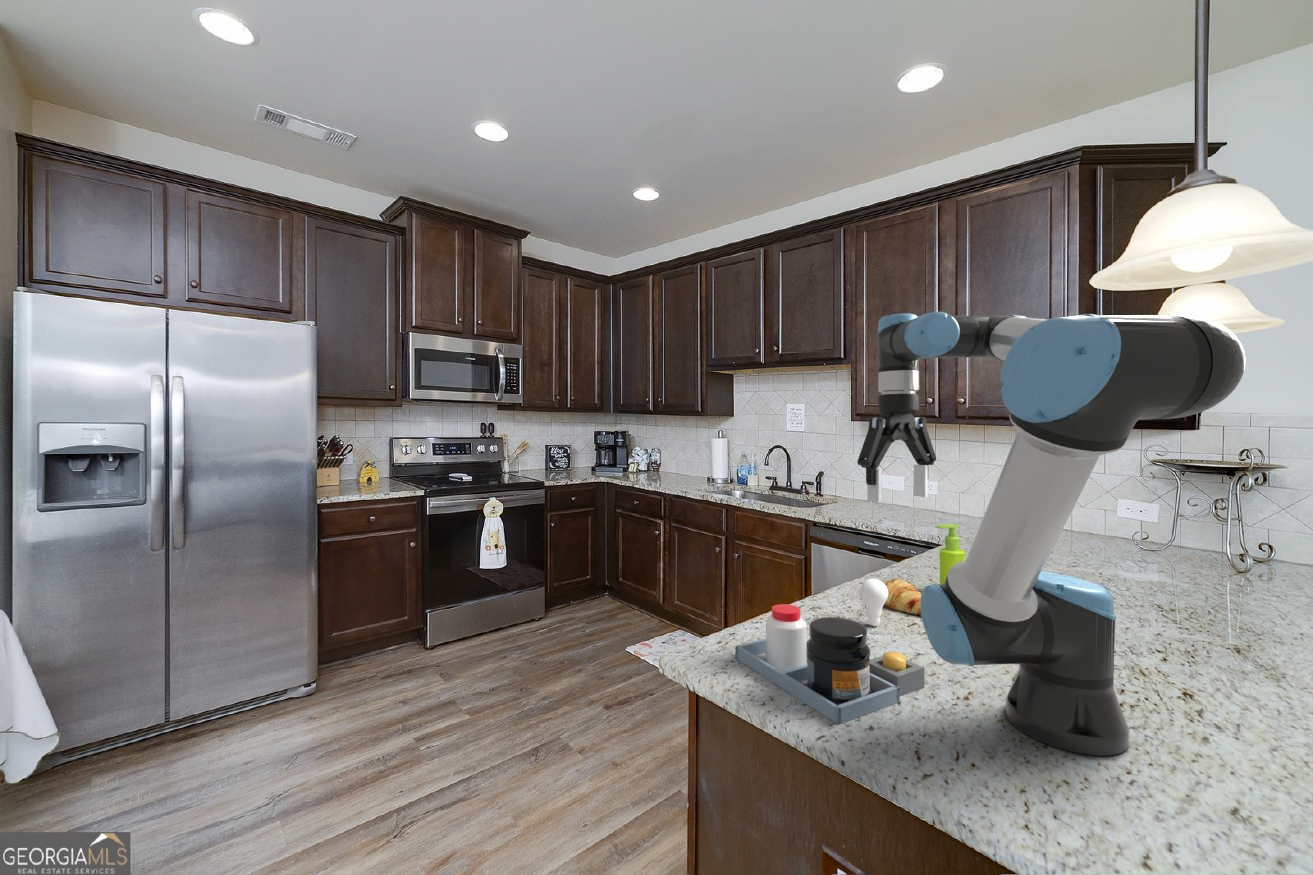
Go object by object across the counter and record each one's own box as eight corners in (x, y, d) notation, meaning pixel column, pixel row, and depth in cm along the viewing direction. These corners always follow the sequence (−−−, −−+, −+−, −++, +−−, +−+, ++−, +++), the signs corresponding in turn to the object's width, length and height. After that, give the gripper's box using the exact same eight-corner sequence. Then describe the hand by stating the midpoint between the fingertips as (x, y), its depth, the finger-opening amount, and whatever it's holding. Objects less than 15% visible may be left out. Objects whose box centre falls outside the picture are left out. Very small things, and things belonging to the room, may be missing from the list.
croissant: (942, 632, 130) (955, 602, 131) (913, 618, 127) (926, 587, 128) (878, 603, 150) (890, 576, 151) (852, 590, 147) (864, 563, 148)
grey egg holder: (924, 687, 97) (924, 667, 97) (897, 696, 94) (897, 676, 94) (891, 671, 103) (891, 653, 103) (865, 679, 100) (865, 661, 100)
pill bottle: (805, 657, 110) (805, 603, 110) (808, 674, 102) (807, 616, 102) (766, 654, 112) (766, 601, 111) (766, 671, 104) (765, 614, 104)
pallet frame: (899, 702, 92) (899, 687, 92) (837, 724, 86) (837, 708, 85) (790, 644, 116) (790, 632, 116) (735, 658, 110) (735, 646, 110)
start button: (910, 676, 98) (910, 658, 98) (896, 681, 96) (896, 662, 96) (892, 668, 101) (892, 650, 101) (878, 673, 99) (878, 654, 99)
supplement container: (880, 710, 90) (880, 638, 89) (815, 710, 90) (815, 638, 89) (857, 680, 100) (857, 615, 100) (800, 680, 100) (799, 615, 100)
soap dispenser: (931, 597, 146) (931, 523, 145) (955, 596, 146) (955, 522, 146) (945, 604, 140) (945, 527, 139) (970, 603, 141) (970, 526, 140)
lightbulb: (875, 620, 130) (875, 574, 129) (894, 629, 124) (894, 581, 124) (854, 623, 128) (854, 576, 127) (872, 632, 122) (872, 584, 122)
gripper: (922, 395, 118) (922, 492, 119) (838, 393, 107) (838, 501, 107) (955, 393, 112) (955, 496, 112) (869, 391, 100) (869, 506, 101)
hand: (898, 499), depth 110 cm, fingers open, 13 cm apart
